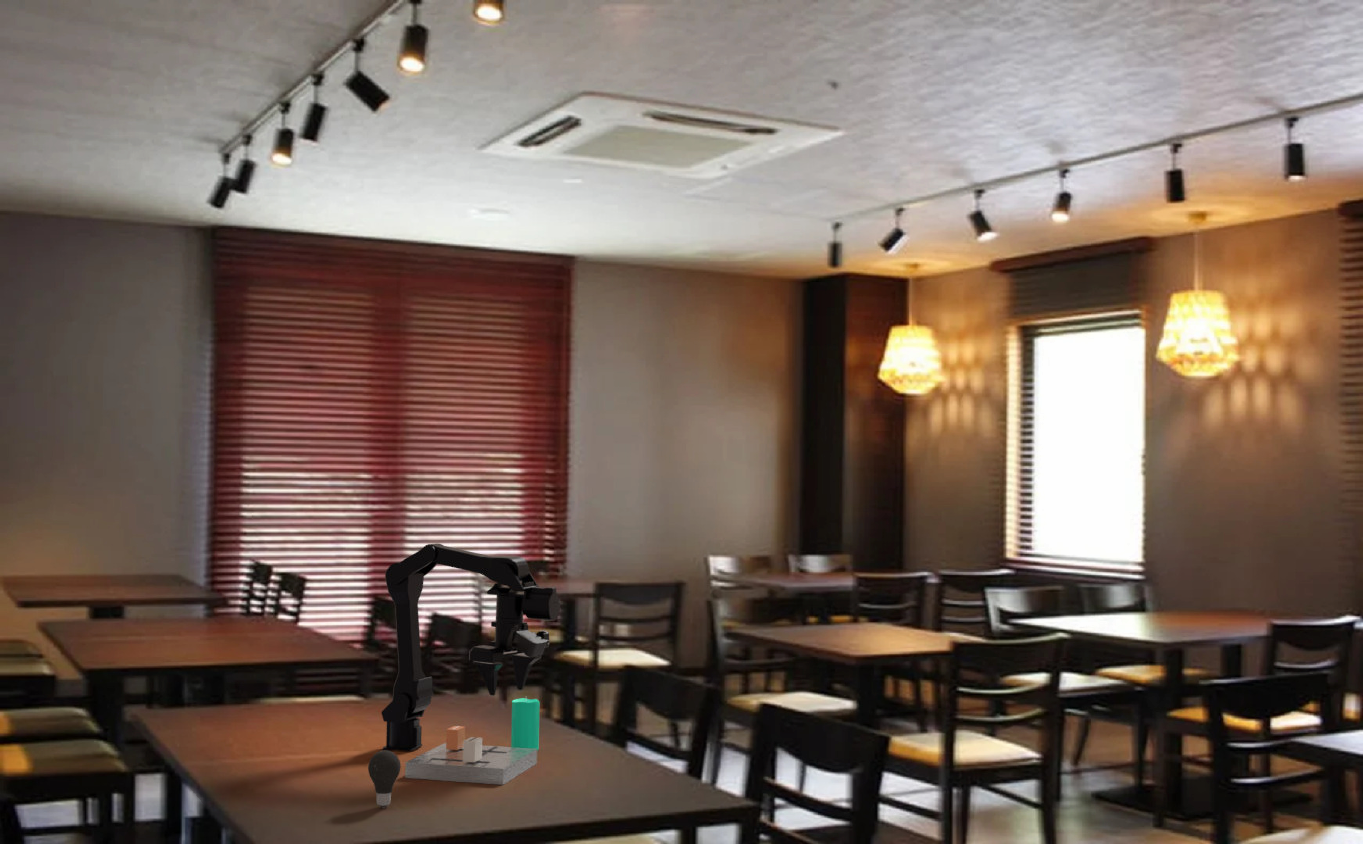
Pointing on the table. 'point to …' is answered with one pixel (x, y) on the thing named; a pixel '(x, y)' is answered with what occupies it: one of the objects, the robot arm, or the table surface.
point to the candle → (525, 723)
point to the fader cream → (472, 749)
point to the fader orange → (455, 737)
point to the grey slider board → (472, 765)
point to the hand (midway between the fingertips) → (506, 692)
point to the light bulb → (384, 775)
